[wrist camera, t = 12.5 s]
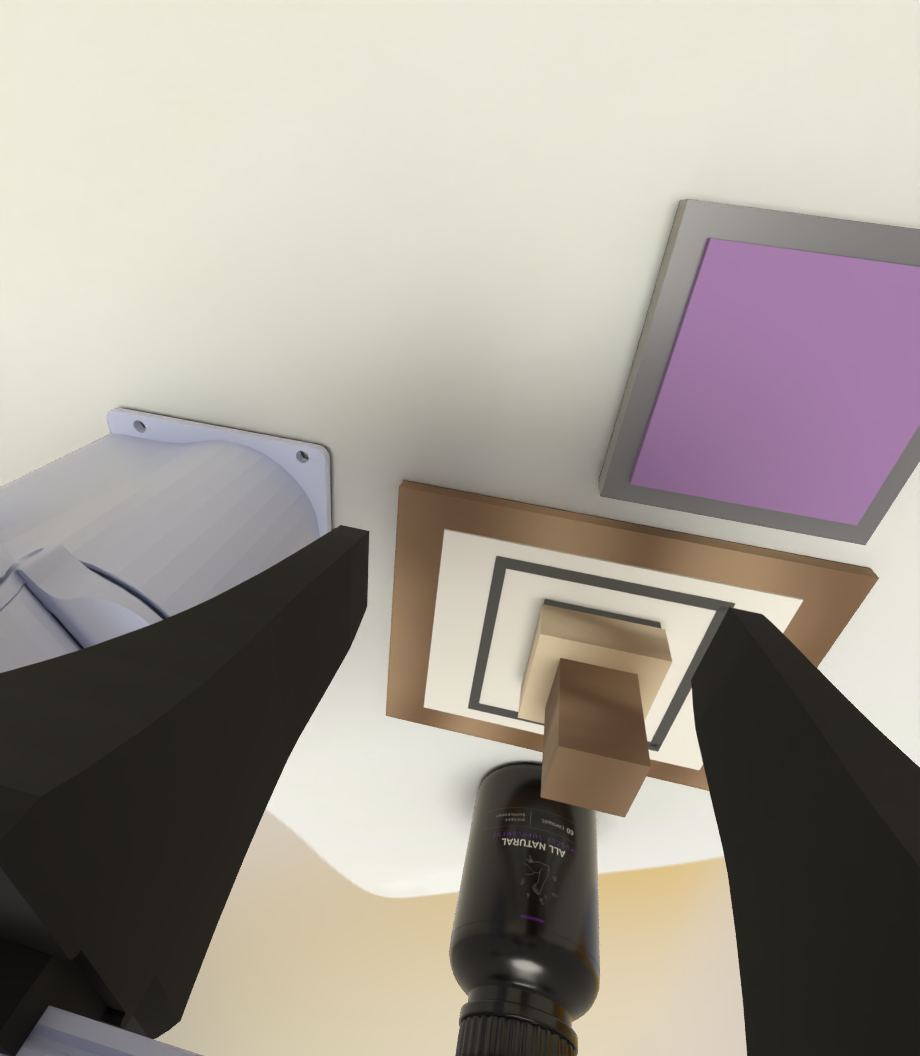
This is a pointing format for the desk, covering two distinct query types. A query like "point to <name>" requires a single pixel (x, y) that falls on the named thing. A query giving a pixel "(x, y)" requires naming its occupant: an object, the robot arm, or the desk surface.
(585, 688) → the stamp
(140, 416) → the robot arm
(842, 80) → the desk surface
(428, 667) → the stamp board
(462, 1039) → the supplement bottle
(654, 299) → the ink pad
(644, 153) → the desk surface
